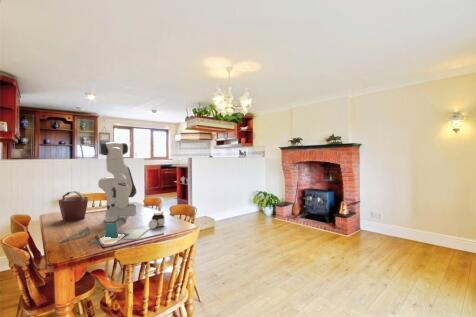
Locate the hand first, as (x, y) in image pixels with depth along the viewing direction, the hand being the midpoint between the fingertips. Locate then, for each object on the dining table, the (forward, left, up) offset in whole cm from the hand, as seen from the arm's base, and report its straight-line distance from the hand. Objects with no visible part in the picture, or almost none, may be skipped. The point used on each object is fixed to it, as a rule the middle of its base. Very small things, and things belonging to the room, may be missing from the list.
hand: (122, 221), depth 184 cm
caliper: (+16, -26, -8) cm, 32 cm away
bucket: (-35, -61, -8) cm, 71 cm away
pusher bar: (+5, 0, -2) cm, 5 cm away
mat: (+18, 0, -7) cm, 19 cm away
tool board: (+10, +15, -7) cm, 19 cm away
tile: (+16, 0, -7) cm, 17 cm away
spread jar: (-10, +23, -8) cm, 26 cm away
